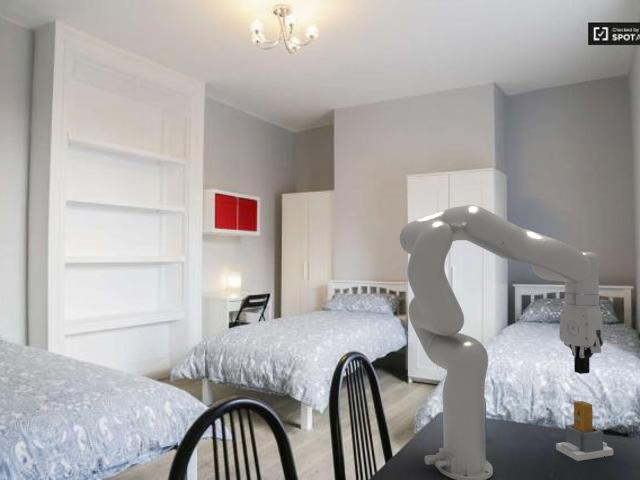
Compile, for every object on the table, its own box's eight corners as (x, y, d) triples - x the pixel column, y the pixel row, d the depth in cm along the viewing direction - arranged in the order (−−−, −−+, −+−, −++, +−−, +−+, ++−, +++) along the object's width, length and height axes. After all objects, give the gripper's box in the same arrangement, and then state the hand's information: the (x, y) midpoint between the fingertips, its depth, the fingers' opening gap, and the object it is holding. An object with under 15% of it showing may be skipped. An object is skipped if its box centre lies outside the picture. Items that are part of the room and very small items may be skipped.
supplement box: (594, 444, 121) (593, 404, 121) (582, 445, 120) (582, 405, 120) (584, 438, 124) (583, 400, 124) (572, 440, 123) (572, 401, 123)
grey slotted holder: (577, 461, 117) (577, 436, 117) (556, 449, 124) (555, 426, 124) (613, 455, 120) (612, 431, 120) (590, 443, 127) (590, 421, 127)
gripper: (547, 297, 128) (548, 366, 128) (594, 304, 114) (594, 381, 114) (570, 296, 131) (571, 364, 130) (619, 303, 116) (619, 379, 116)
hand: (581, 372), depth 122 cm, fingers closed
